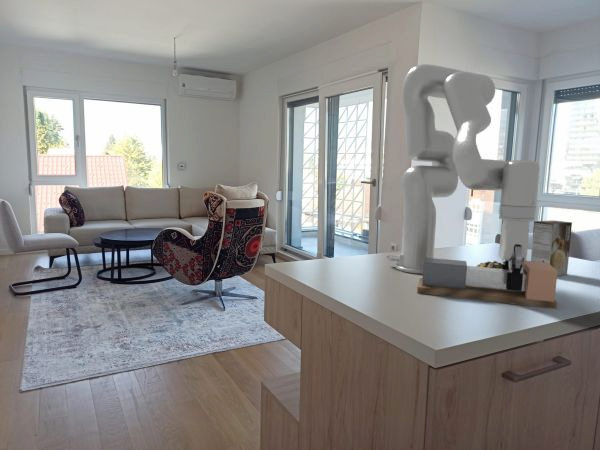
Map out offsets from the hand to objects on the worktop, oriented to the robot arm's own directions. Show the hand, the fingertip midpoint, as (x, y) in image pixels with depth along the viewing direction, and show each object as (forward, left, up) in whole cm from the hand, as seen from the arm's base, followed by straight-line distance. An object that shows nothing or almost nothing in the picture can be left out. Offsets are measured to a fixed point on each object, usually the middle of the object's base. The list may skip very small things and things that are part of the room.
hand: (510, 284), depth 101 cm
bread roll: (-2, +26, -4) cm, 26 cm away
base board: (-6, 0, -3) cm, 7 cm away
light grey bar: (-3, 0, -1) cm, 3 cm away
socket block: (+6, 0, -2) cm, 6 cm away
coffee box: (+15, +34, -3) cm, 37 cm away
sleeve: (-15, 0, -2) cm, 15 cm away
